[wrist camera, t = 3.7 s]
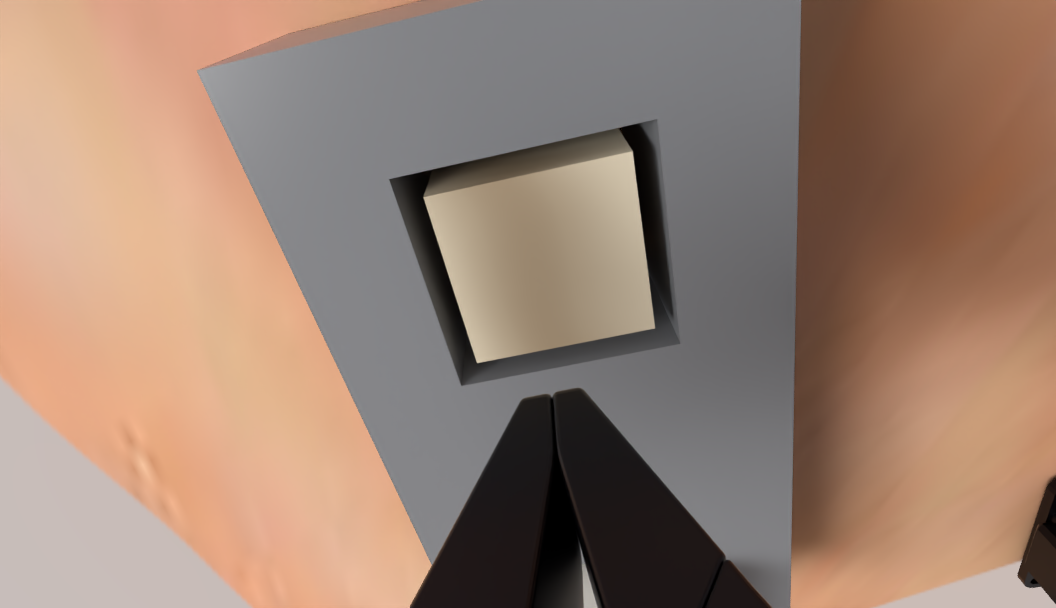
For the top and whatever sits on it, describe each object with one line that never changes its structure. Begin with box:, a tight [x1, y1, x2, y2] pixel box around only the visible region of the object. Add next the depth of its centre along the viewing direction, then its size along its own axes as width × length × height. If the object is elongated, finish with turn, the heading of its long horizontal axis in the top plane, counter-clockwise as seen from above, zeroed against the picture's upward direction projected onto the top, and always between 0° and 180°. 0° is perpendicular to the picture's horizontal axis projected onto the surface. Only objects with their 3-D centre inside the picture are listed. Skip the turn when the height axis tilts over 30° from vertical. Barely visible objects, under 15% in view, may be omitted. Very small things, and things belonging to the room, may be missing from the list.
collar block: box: [197, 0, 801, 608], centre depth 17 cm, size 10×22×5 cm, turn 12°
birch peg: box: [423, 128, 655, 363], centre depth 14 cm, size 4×4×5 cm
